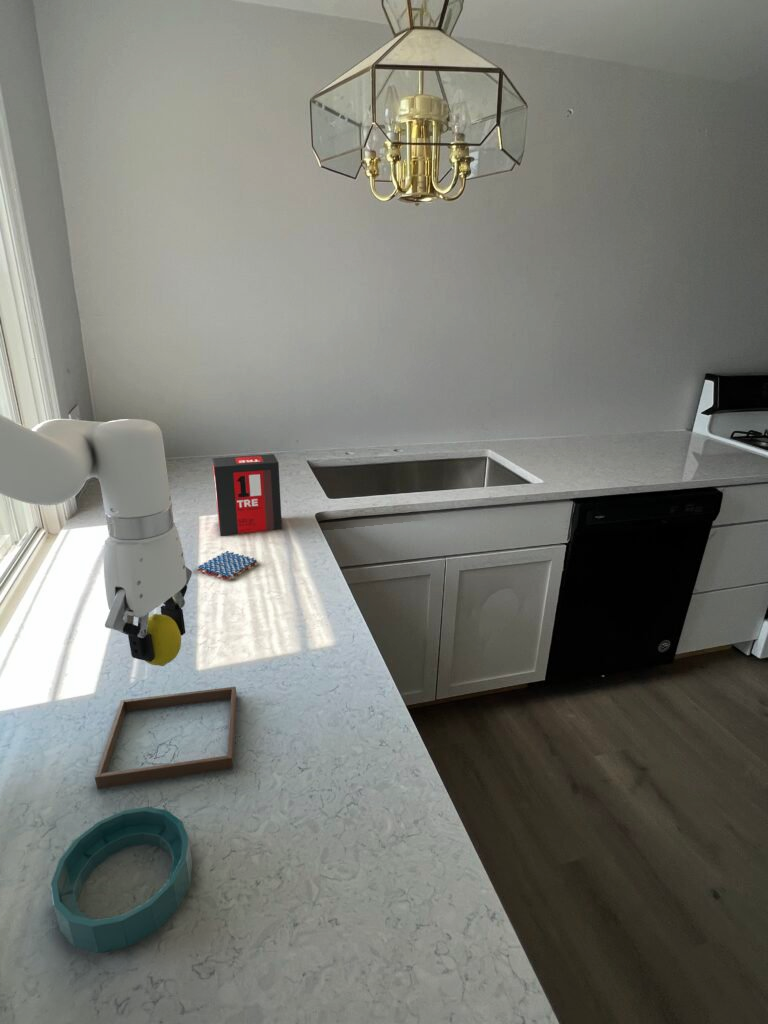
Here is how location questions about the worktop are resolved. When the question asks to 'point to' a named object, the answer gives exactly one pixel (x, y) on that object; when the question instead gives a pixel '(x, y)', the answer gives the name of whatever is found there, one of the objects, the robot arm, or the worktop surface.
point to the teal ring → (96, 848)
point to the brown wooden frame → (172, 769)
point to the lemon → (164, 638)
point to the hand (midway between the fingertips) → (159, 644)
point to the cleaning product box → (247, 494)
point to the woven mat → (227, 565)
